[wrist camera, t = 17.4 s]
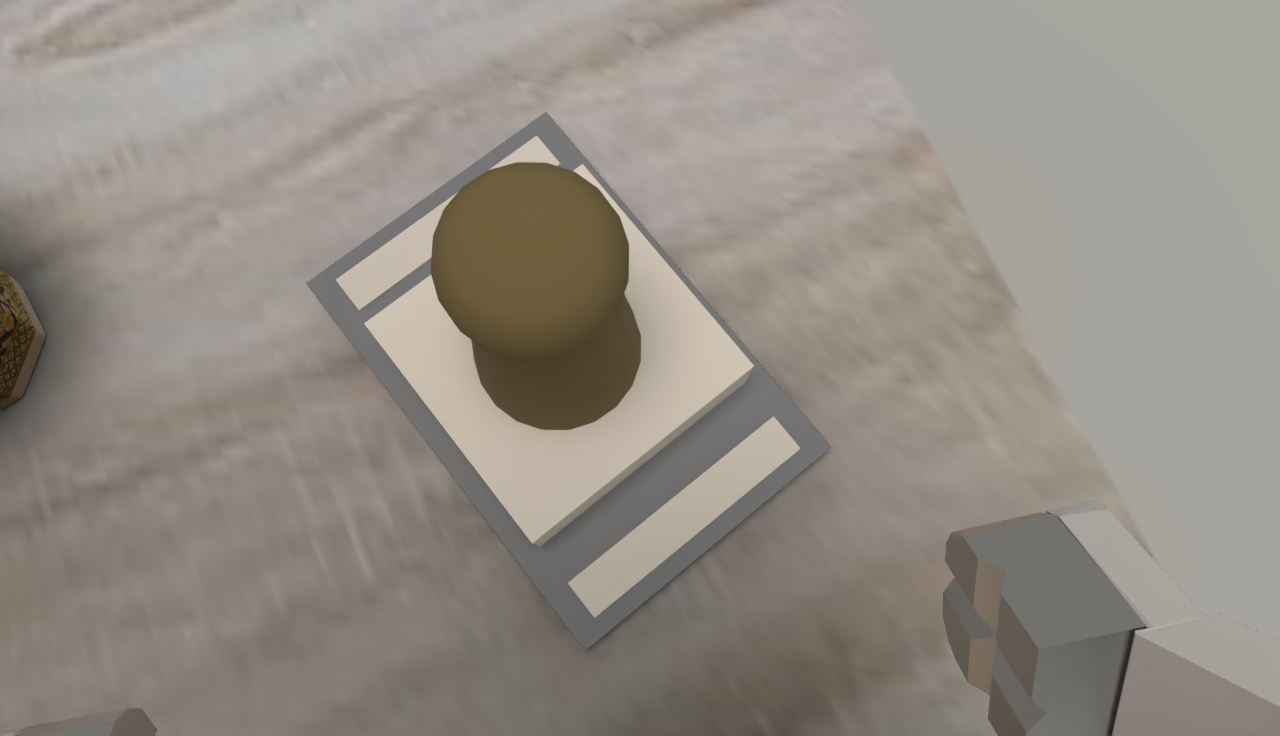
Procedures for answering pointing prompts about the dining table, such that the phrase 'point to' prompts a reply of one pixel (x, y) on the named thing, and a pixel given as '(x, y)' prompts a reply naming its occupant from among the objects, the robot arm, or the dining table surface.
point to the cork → (540, 292)
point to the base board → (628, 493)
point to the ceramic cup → (17, 340)
